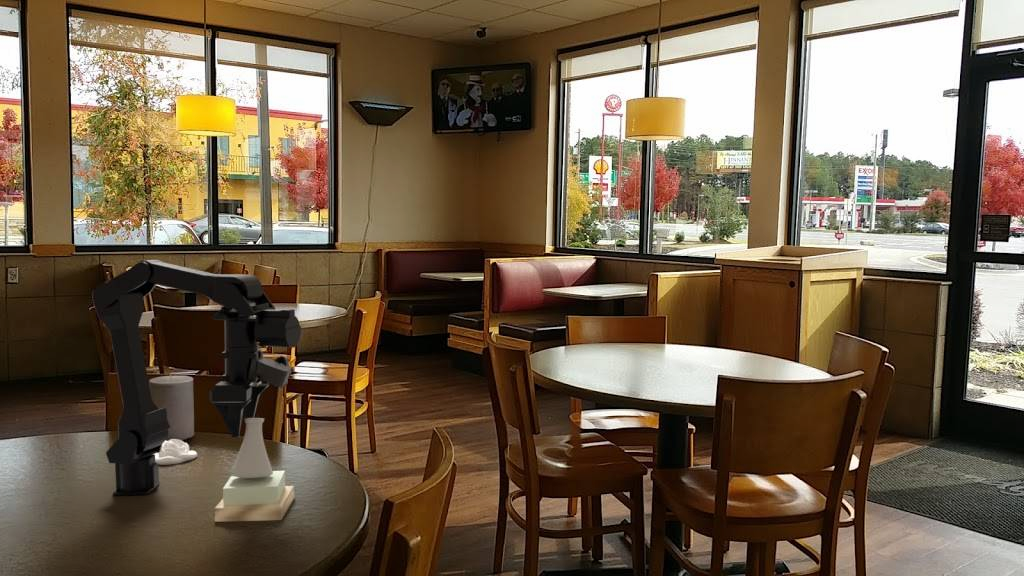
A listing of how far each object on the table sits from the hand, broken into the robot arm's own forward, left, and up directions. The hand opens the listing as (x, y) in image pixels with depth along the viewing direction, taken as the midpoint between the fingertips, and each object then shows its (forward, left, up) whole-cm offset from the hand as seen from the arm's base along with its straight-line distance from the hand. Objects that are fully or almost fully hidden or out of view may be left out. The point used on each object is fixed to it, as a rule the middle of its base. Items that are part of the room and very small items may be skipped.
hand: (242, 430), depth 148 cm
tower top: (+3, -5, -10) cm, 12 cm away
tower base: (+3, -6, -13) cm, 15 cm away
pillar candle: (-28, +45, -13) cm, 55 cm away
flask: (+3, -6, -7) cm, 9 cm away
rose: (-21, +27, -13) cm, 37 cm away
